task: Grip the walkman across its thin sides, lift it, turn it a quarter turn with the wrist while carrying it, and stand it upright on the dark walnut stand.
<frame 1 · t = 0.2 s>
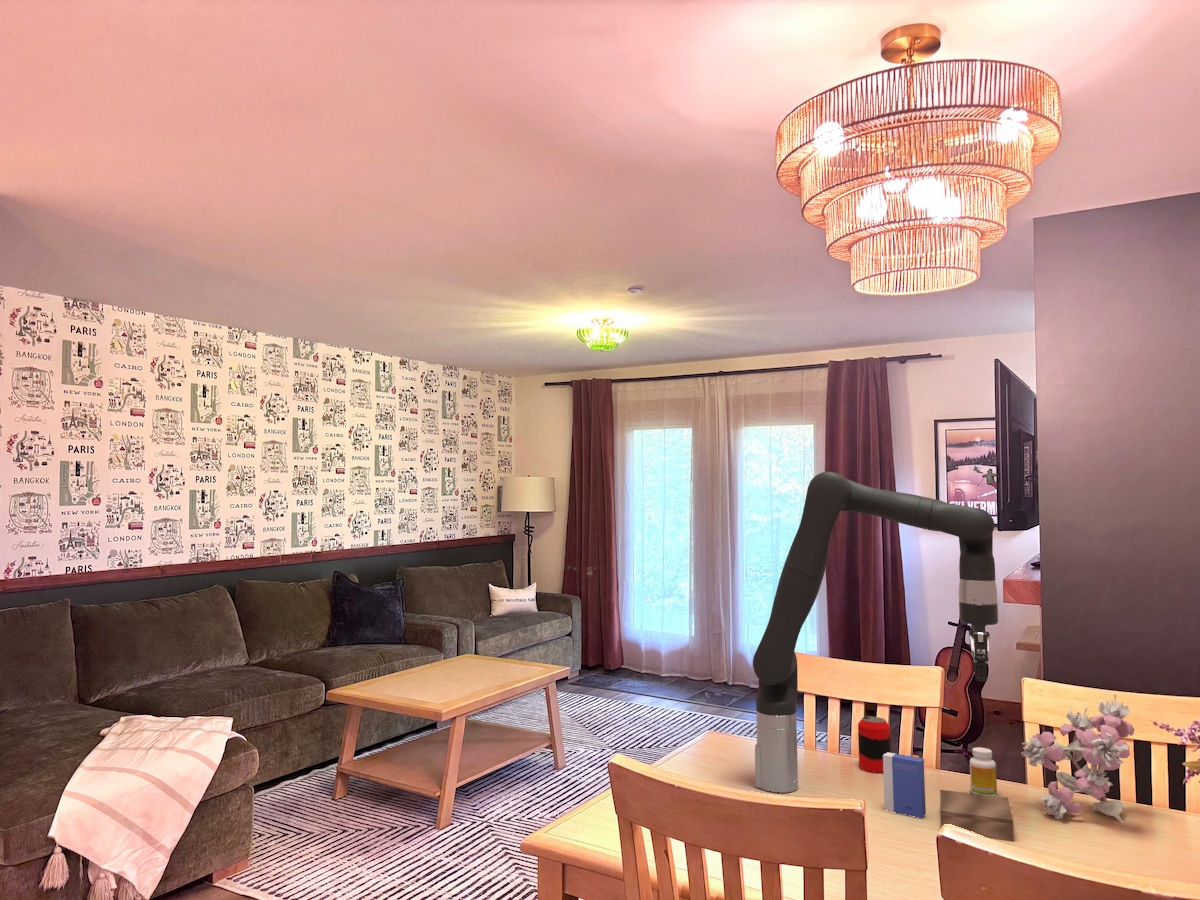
hand: (980, 677, 170), 28 cm above the table, tool pointing down, fingers open, 8 cm apart
supplement bottle: (983, 794, 180), on the table
flower: (1080, 817, 166), on the table
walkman: (905, 814, 169), on the table
soda can: (875, 769, 198), on the table
walnut stand: (975, 824, 163), on the table
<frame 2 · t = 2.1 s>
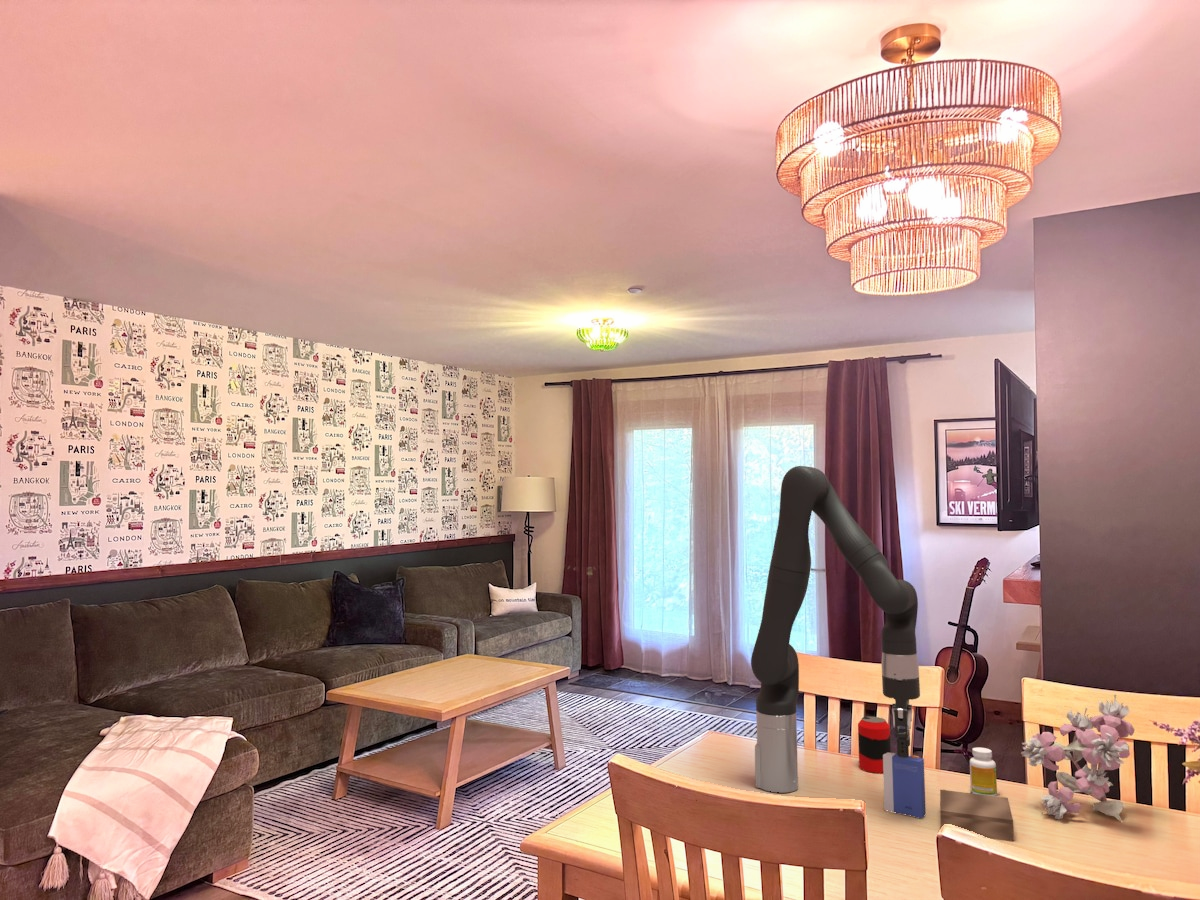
hand: (904, 751, 170), 13 cm above the table, tool pointing down, fingers open, 8 cm apart
nothing on the table moved.
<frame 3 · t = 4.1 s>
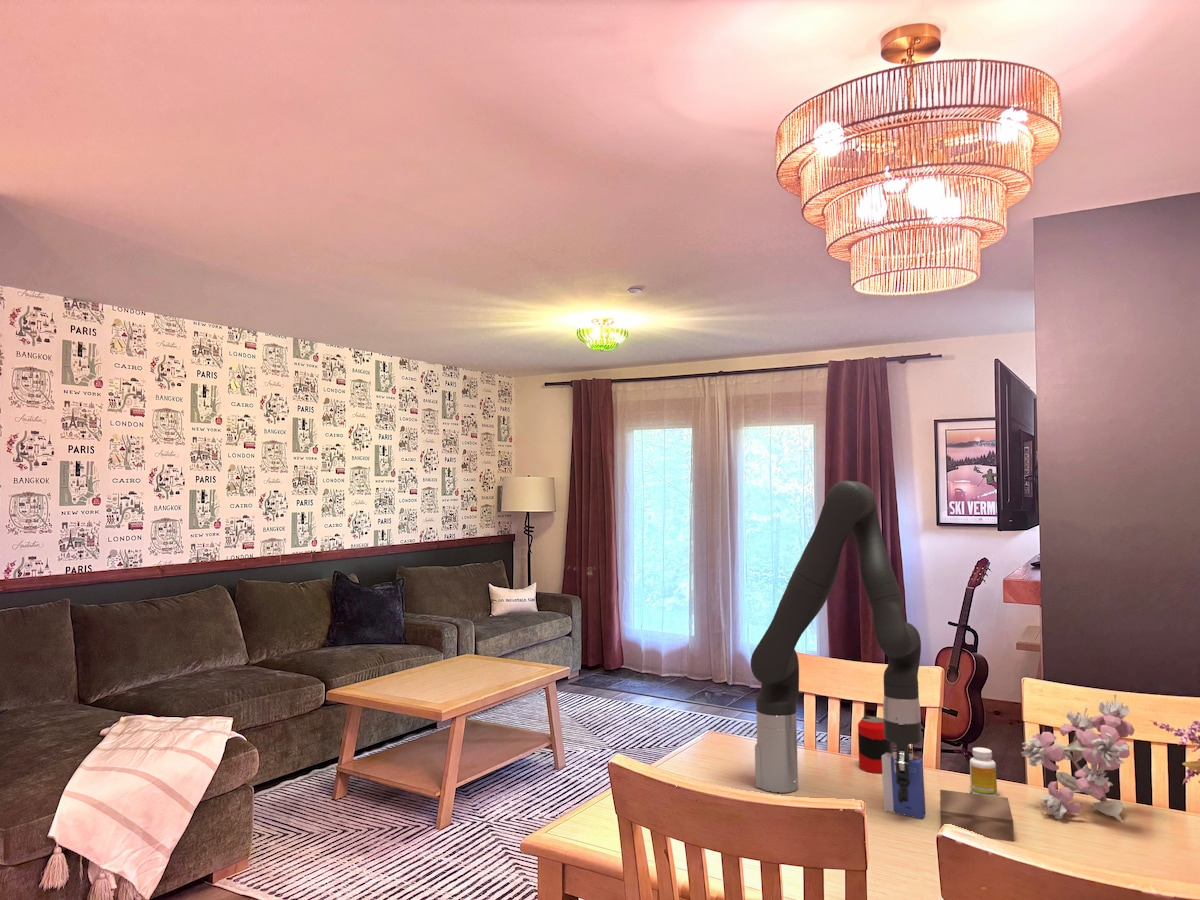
hand: (904, 800, 169), 3 cm above the table, tool pointing down, fingers closed on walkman, 2 cm apart
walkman: (905, 813, 169), on the table, touching gripper
everything else where it was.
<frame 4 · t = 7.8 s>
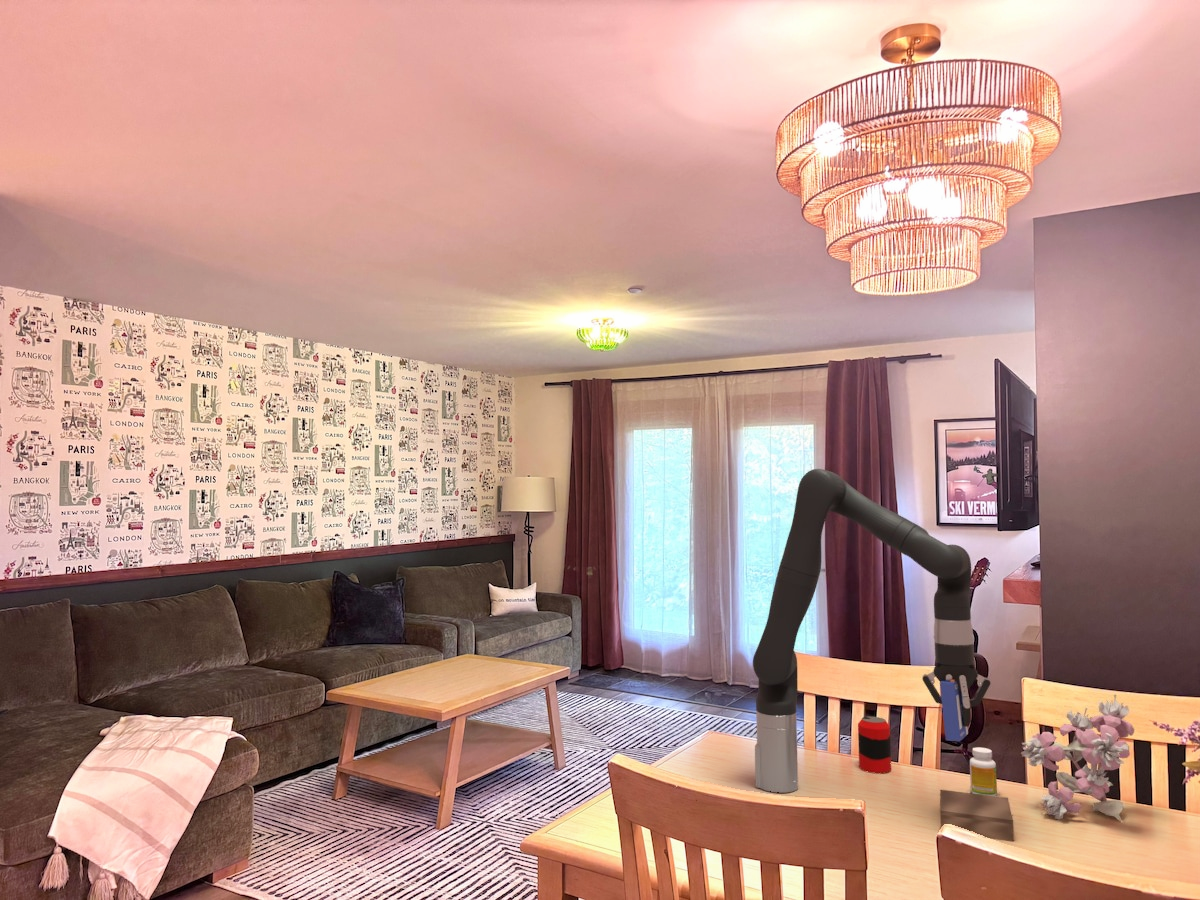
hand: (958, 724, 165), 20 cm above the table, tool pointing down, fingers closed on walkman
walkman: (957, 737, 165), point 17 cm above the table, touching gripper
everything else where it was.
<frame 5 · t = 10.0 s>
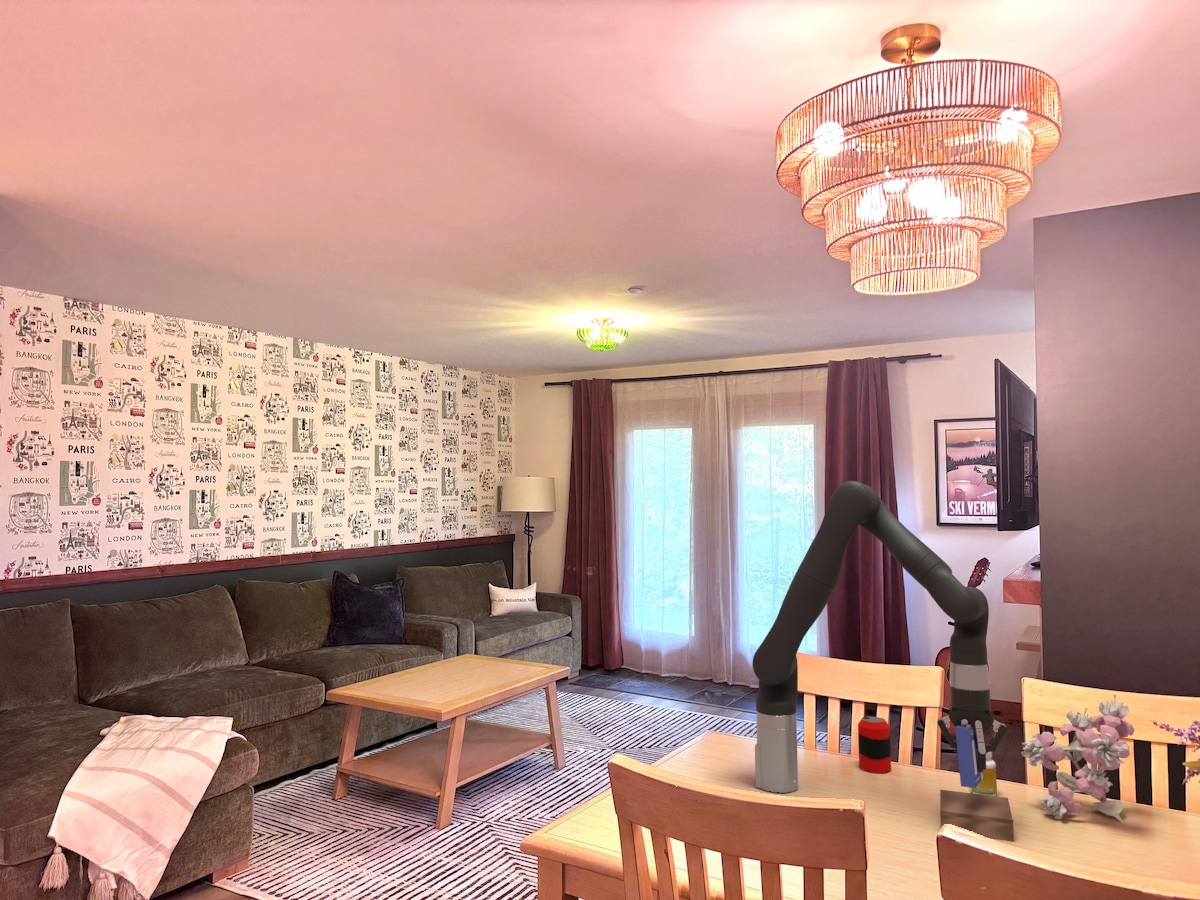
hand: (973, 770, 163), 11 cm above the table, tool pointing down, fingers closed on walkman
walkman: (972, 783, 163), point 8 cm above the table, touching gripper
everything else where it was.
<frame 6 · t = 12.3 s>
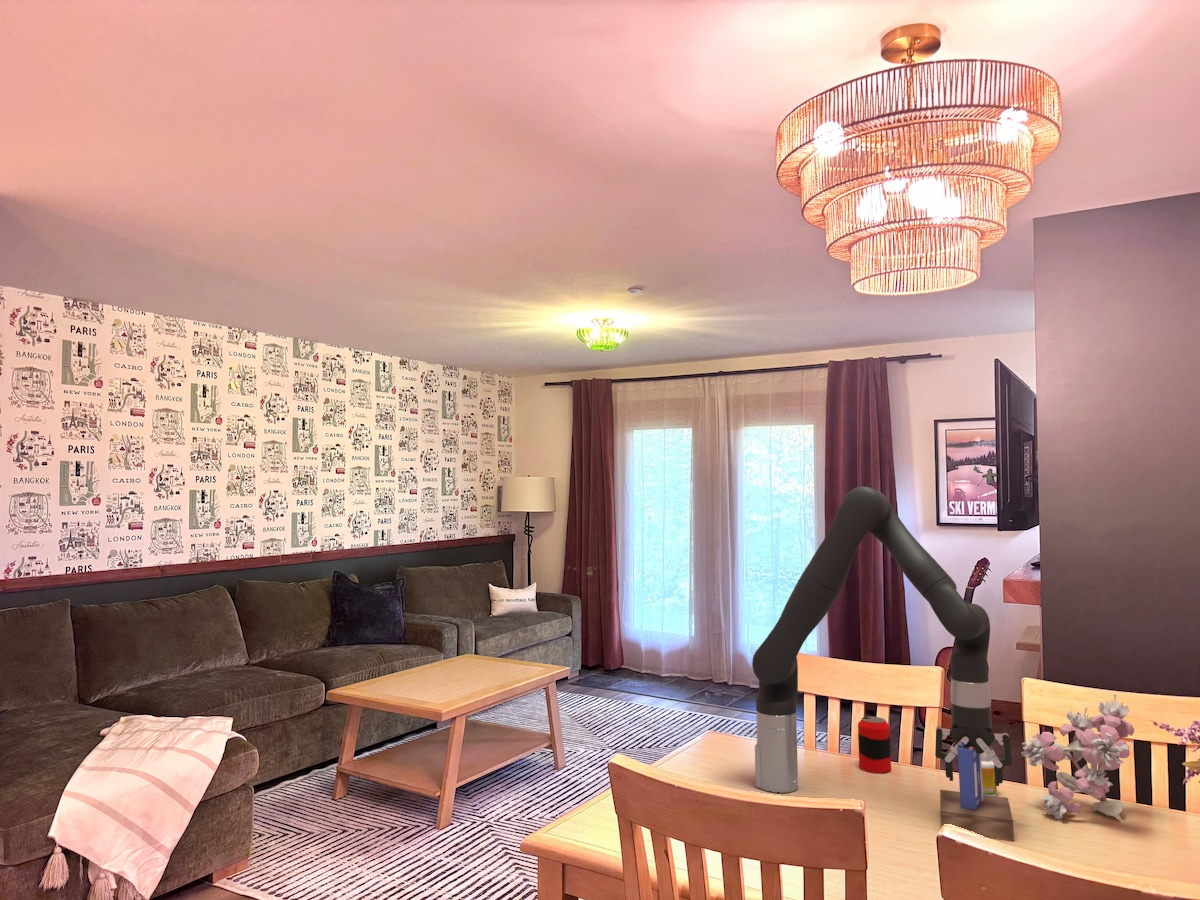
hand: (973, 782, 163), 8 cm above the table, tool pointing down, fingers open, 8 cm apart
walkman: (971, 804, 163), point 4 cm above the table, touching walnut stand
everything else where it was.
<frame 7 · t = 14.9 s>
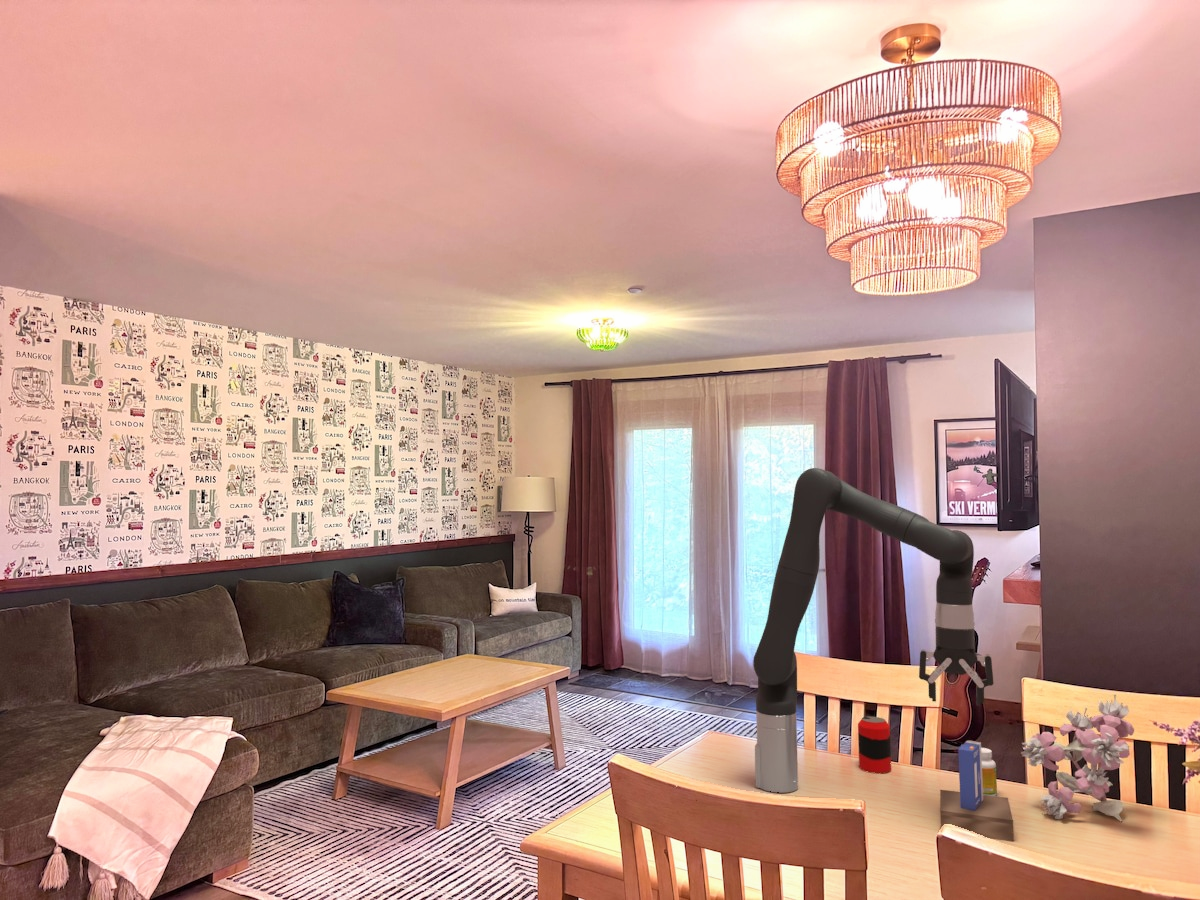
hand: (956, 702, 167), 24 cm above the table, tool pointing down, fingers open, 8 cm apart
nothing on the table moved.
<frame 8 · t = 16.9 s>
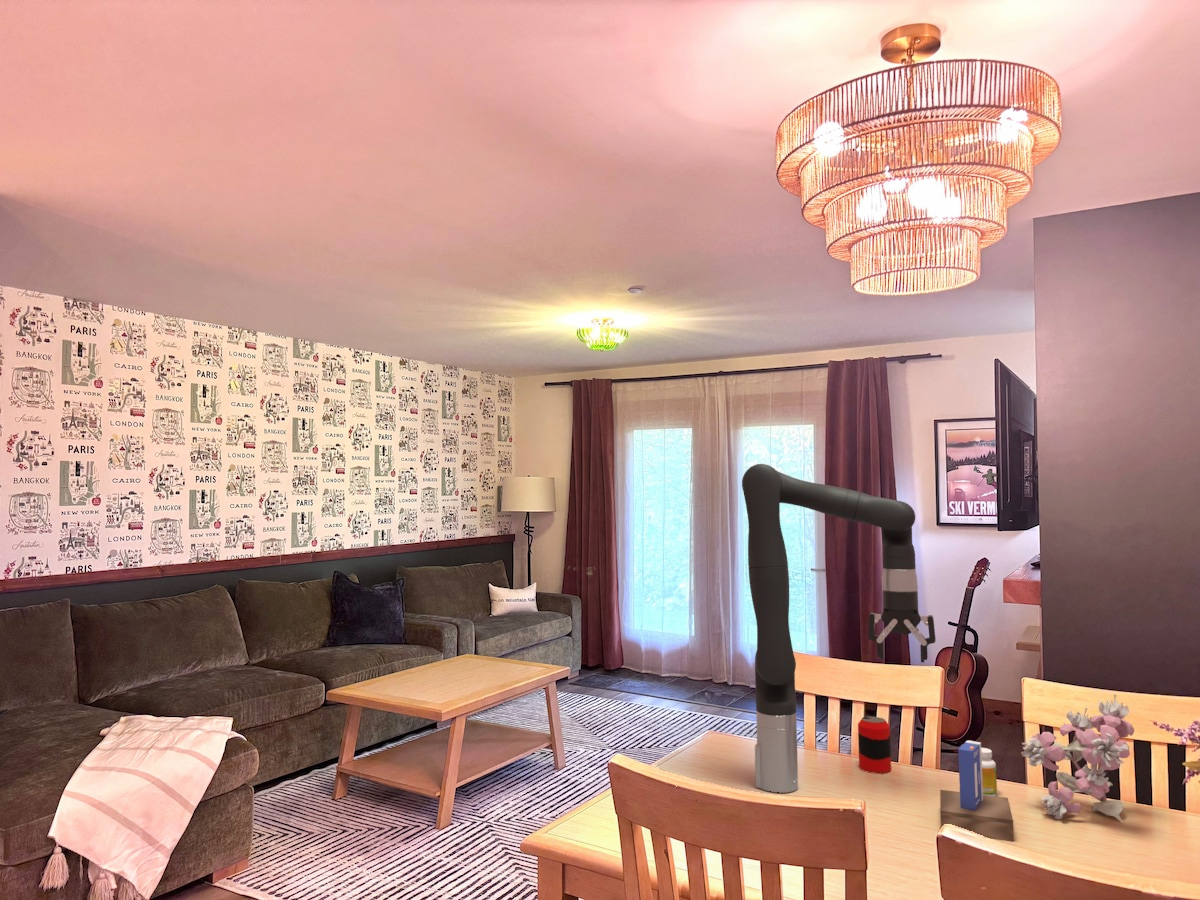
hand: (902, 660, 180), 30 cm above the table, tool pointing down, fingers open, 8 cm apart
nothing on the table moved.
at the end: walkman inside the target area on the walnut stand (0.5 cm from its centre), point 3.8 cm above the walnut stand's base; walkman tilted 0°; the gripper is holding nothing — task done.
